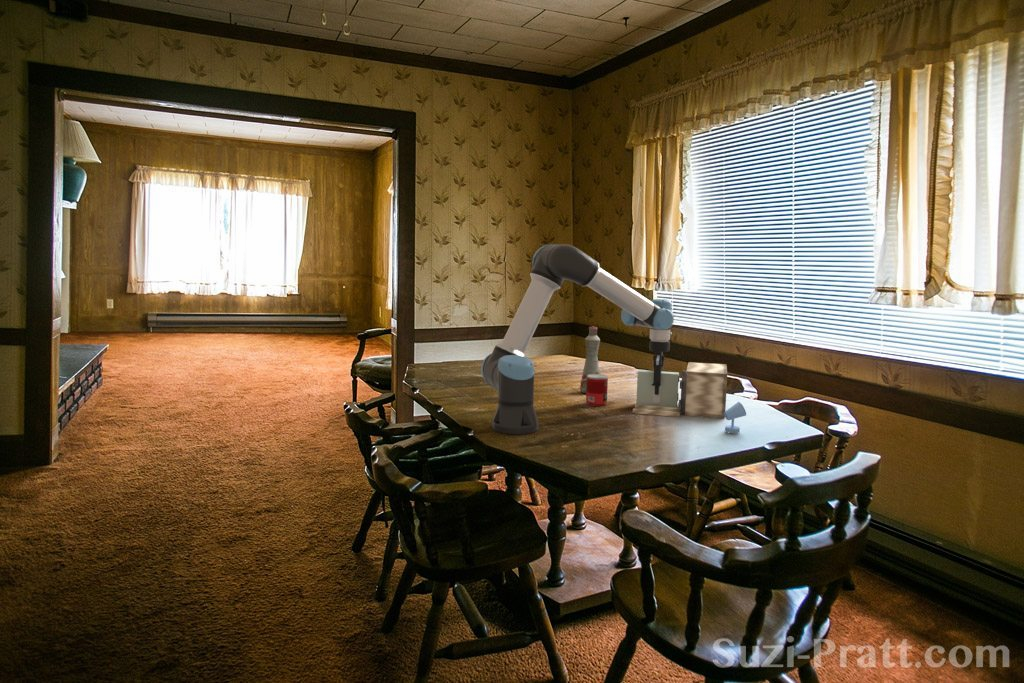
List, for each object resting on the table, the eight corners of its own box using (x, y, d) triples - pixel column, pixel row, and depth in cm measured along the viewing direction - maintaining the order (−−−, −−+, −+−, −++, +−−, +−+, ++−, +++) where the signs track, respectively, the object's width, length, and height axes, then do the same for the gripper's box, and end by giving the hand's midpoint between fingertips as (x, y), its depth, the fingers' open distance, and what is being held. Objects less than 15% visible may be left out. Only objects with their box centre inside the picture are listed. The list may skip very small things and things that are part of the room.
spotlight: (740, 429, 219) (720, 430, 218) (742, 400, 217) (721, 400, 217) (747, 433, 214) (726, 434, 213) (748, 403, 213) (728, 403, 212)
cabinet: (632, 413, 240) (634, 369, 238) (640, 398, 264) (641, 359, 262) (725, 420, 231) (727, 375, 229) (724, 405, 255) (726, 364, 252)
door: (636, 405, 252) (637, 371, 250) (637, 402, 256) (638, 369, 254) (677, 408, 247) (679, 374, 246) (678, 406, 251) (679, 372, 250)
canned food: (608, 406, 250) (609, 377, 249) (587, 406, 250) (587, 377, 249) (605, 402, 258) (606, 374, 256) (585, 401, 258) (585, 373, 256)
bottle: (591, 395, 268) (593, 327, 265) (575, 392, 275) (577, 325, 271) (605, 393, 274) (607, 326, 270) (589, 389, 281) (591, 324, 277)
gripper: (668, 343, 239) (665, 406, 242) (671, 338, 255) (668, 397, 258) (647, 342, 241) (644, 405, 244) (651, 337, 258) (649, 396, 261)
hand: (656, 401), depth 251 cm, fingers closed on door, 4 cm apart
